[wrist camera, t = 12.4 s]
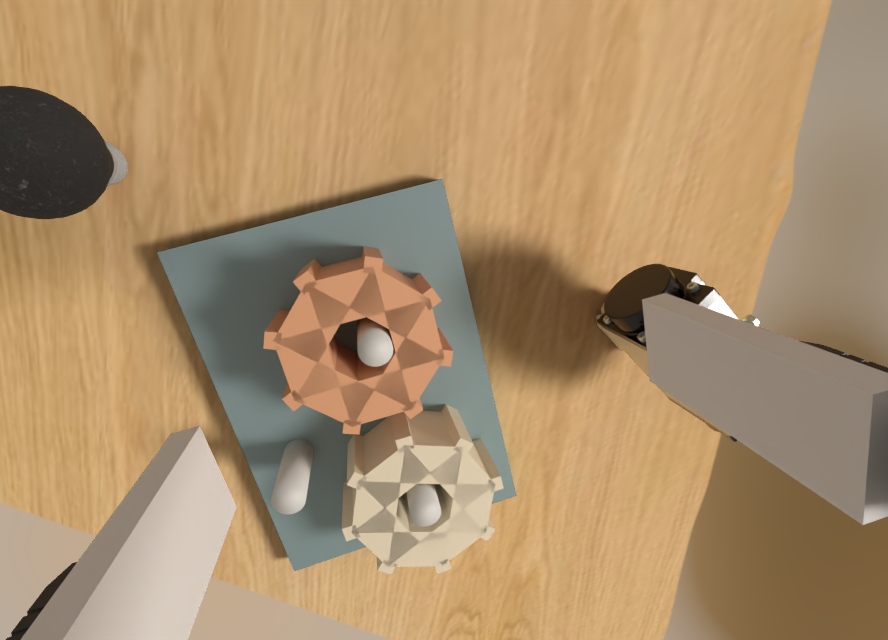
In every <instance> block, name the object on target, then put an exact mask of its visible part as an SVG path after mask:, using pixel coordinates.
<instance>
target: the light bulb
mask: <svg viewBox="0 0 888 640" xmlns="http://www.w3.org/2000/svg"><path fill="white" fill-rule="evenodd" d="M127 168H128V166H127V161H126V158H125V156H124V155H123V153H122V152H121V151H120V150H119V149H118V148H116V147H115V146H114V145H112V144H110V143H108V142H105V141H104V139H103V138H102V136H101V135H100V133H99V132H98V130H97V129H96V127H95V126H94V125H93V124H92V123H91V122H90V121H89V120H88V119H87V118H86V117H85V116H84V115H83V114H82V113H81V112H79V111H78V110H77V109H75V108H74V107H72V106H71V105H69V104H68V103H66V102H64V101H62V100H60V99H58V98H57V97H55V96H53V95H50V94H48V93H45V92H42V91H39V90H35V89H31V88H24V87H16V86H0V210H2V211H5V212H7V213H10V214H14V215H17V216H22V217H28V218H37V219H54V218H63V217H66V216H70V215H73V214H76V213H78V212H81V211H83V210H85V209H87V208H88V207H89V206H91V205H92V204H93V203H95V202H96V200H97V199H98V198H99V197H100V196H101V195H102V193H103V192H104V191H105V189H106V187H107V186H109V185H113V184H116V183H119V182H120V181H121V180H123V178H124V177H125V175H126V173H127Z"/></svg>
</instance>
